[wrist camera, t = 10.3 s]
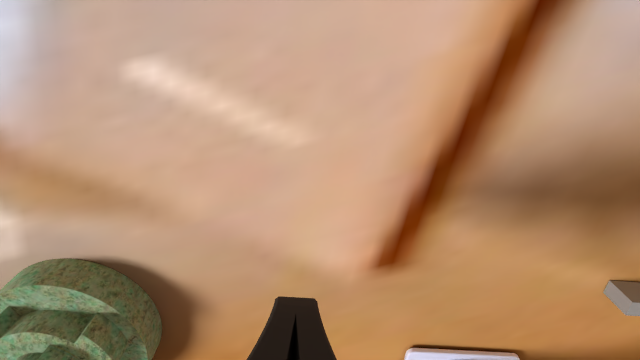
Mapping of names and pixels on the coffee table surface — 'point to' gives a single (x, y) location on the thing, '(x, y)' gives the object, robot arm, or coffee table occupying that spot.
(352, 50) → the coffee table surface
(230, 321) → the coffee table surface
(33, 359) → the decorative artifact
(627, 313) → the frame
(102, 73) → the coffee table surface
